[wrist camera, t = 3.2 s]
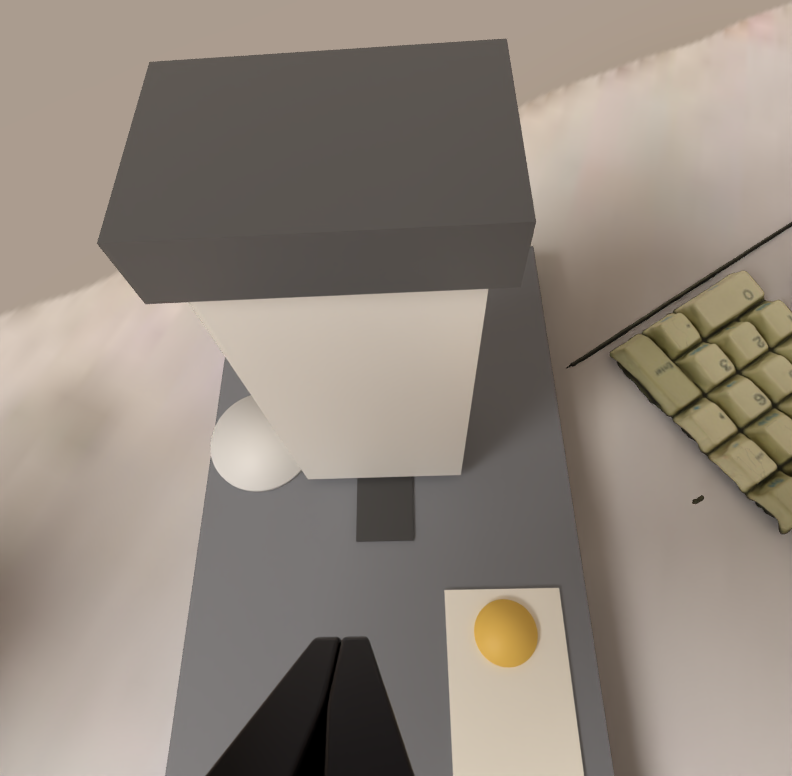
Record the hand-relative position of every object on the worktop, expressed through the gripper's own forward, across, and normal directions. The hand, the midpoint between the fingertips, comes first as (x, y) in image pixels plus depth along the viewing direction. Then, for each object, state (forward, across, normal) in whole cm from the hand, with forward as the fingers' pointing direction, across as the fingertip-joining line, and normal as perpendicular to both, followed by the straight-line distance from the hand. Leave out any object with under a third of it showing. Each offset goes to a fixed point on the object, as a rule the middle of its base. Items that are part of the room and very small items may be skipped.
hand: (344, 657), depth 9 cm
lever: (+10, 0, +1) cm, 11 cm away
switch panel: (+10, 0, +4) cm, 11 cm away
